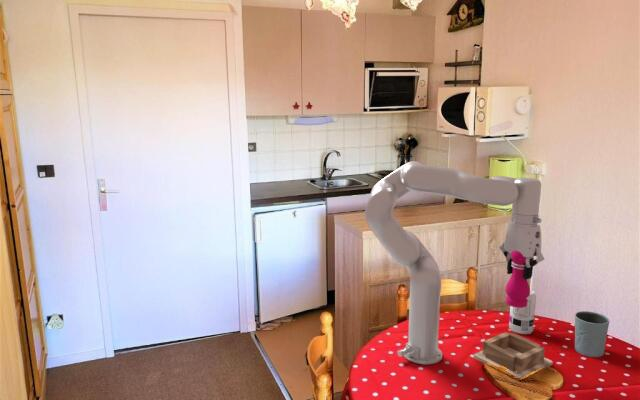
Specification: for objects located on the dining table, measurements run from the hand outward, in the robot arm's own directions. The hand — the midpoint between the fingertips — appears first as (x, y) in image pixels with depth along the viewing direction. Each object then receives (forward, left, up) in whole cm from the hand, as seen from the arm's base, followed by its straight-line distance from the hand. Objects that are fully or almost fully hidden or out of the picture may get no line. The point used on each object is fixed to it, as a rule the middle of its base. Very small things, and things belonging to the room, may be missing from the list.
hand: (519, 275), depth 154 cm
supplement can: (+22, +12, -29) cm, 38 cm away
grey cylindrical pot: (+27, -10, -29) cm, 41 cm away
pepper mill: (0, 0, -10) cm, 10 cm away
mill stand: (0, 0, -29) cm, 29 cm away
